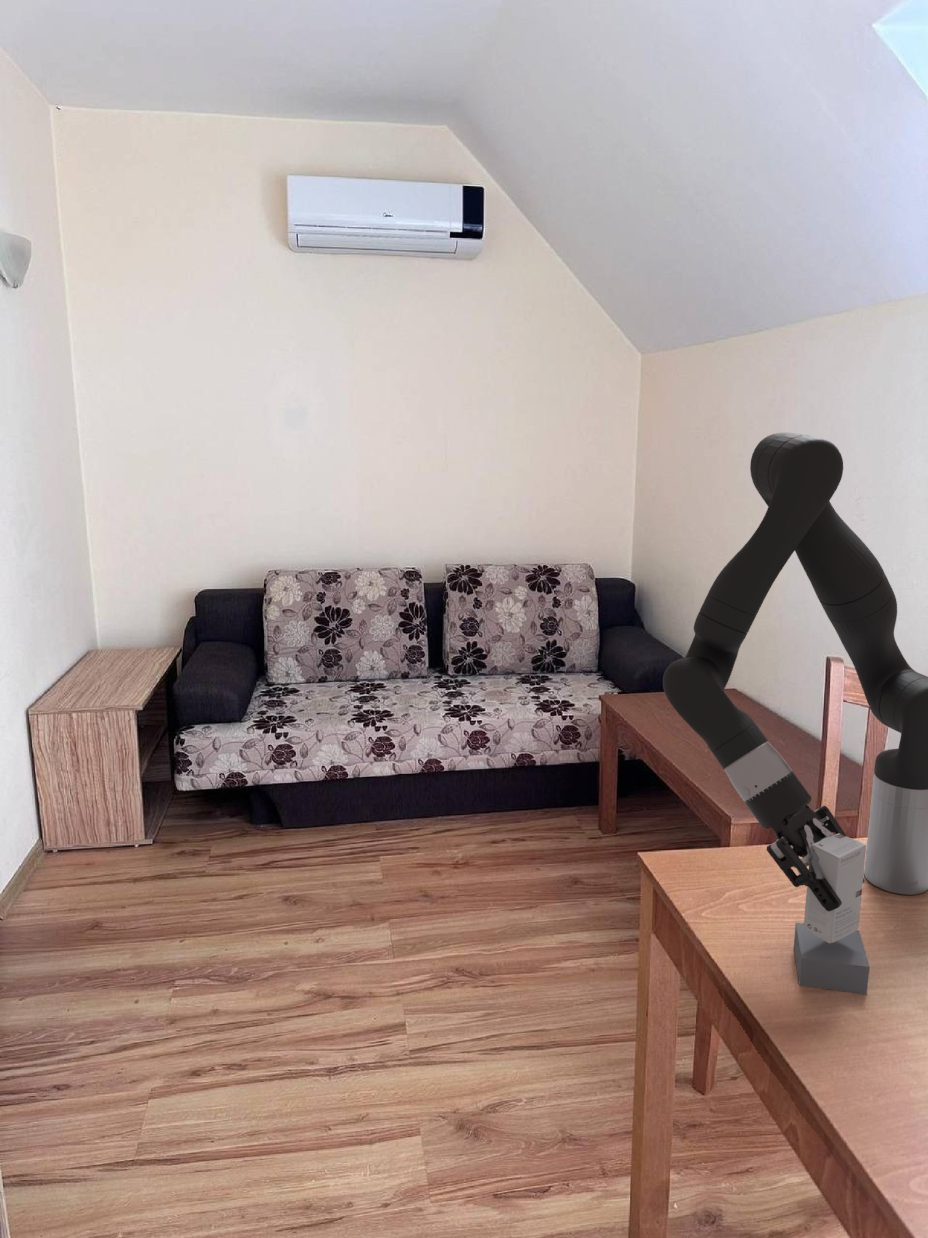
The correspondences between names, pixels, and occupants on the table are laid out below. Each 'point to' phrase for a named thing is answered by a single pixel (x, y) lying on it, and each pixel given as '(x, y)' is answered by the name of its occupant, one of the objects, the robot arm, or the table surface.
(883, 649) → the robot arm
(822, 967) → the charcoal plinth
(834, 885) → the skincare box
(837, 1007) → the table surface
